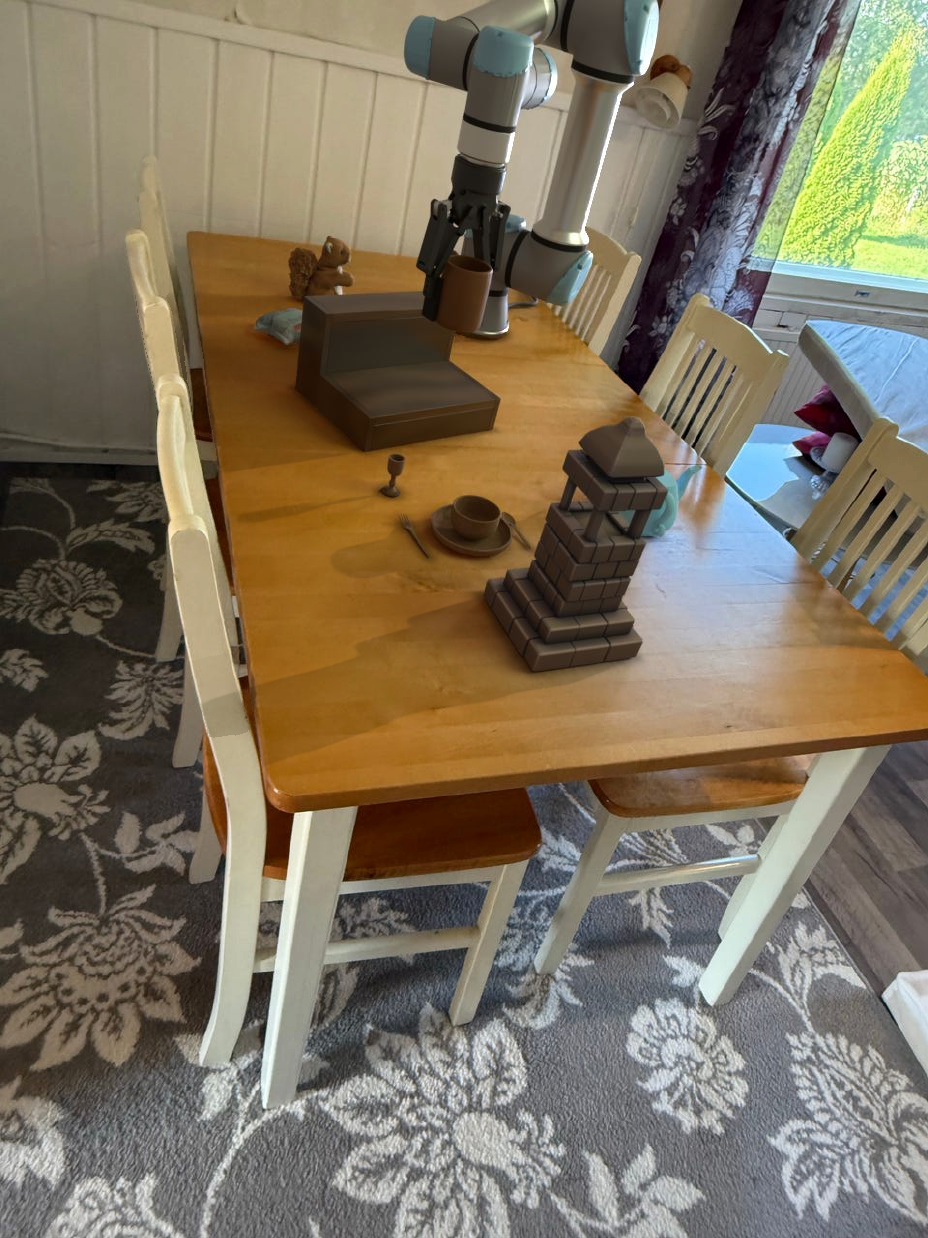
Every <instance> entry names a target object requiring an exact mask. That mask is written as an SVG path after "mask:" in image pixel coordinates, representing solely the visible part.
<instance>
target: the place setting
mask: <svg viewBox="0 0 928 1238" xmlns="http://www.w3.org/2000/svg"><path fill="white" fill-rule="evenodd" d="M405 465H406V457H405V456H404V455H403V454H401V453H396V452H395V453H390V454H389V455H388V460H387V468H386V470H387V472H388V474H389V475H390V479H389V481H388V485H385V486H383V487H382V488H381V493H382V495H384V496H387V497H390V498H397V497H399V496H400V495H401V490H400V489H399V488H397V487H396V485H397V477H399V476H401V475H402V474H403V472H404V468H405ZM397 516H398V518H399V520H400V523H401V525H402V527H403V528H404V529H405V530H408V531H409V532H410V533H411V535H412V536H413V538H414V539H415V540H416V542H417V544H418V546H419V547H420V548H421V550H422V551H423V553H424V554H425V555H426V556H427V558H431V555H430V553H429V551H428V550H427V548H426V547H425V545H424V544H423V542H422V541H421V540H420V538H419V536H418V535H417V534H416V532H415V531H414V529H413V525H412V523H411V521H410V520H409V517H408V515H407V513H402V514H399V513H398V514H397ZM516 524H517V523H516V519H515V517H514V516H513V515H512V514H510V513H509V512H506V511H501V509H500V507H499V506H498V505H497V504H496V503H495V502H493V501H492V500H490V499H488V498H485V497H484V496H479V495H474V494H465V495H460V496H458V497H456V498H455V499H454V501H453V503H449V504H445V505H442V506H439V507H438V508H437V509H435V511H434V512H433V513H432V514H431V519H430V526H431V530H432V533H433V535H434V536H435V538H436V539H437V540H438V541H439V543H441V544H443V545H444V546H445V547H447V548H448V549H450V550H451V551H454V552H456V553H459V554H462V555H466V556H469V557H477V558H478V557H479V558H486V557H492V556H493V557H494V556H496V555H499V554H501V553H503V552H505V551H506V550H507V549H508V548H509V546H510V545H511V544H512V541H513V537H514V533H513V529H514V530H515V531H516V533H517V535H518V536H519V538H520V539H521V540H522V542H523V543H524V545H525V546H526V547H527V548H528V549H529V550H531V549H532V546H531V544H530V542H529V541H528V539H526V538H525V536H524V535H523V533H522V532H521V531H520V529H519V528H518V527H517V525H516ZM512 528H513V529H512Z"/></svg>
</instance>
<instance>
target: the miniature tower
mask: <svg viewBox="0 0 928 1238" xmlns="http://www.w3.org/2000/svg"><path fill="white" fill-rule="evenodd" d="M647 434H648V433H647V431H646V425H645V423H644V421H643V420H642V419H641V418H640V417H638V416H632V415H631V416H626V417H624V418H623V419H622V420H621V421H619V422H618V423H614V424H605V425H601V426H598V427H596V428H593V429H591V430H589V431H587V432H586V433H585V434H584V435H583V436H582V437H581V438H580V440H578V442H577V443H578V445H579V446H580V449H569V450H568V451H567V452H566V455H565V459H564V461H563V464H562V467H561V469H562V471H563V473H565V475H566V476H567V480H566V483H565V485H564V489H563V492H562V495H561V498H560V500H559V502H551V503H550V504H549V507H548V510H547V514H546V516H545V519H544V520H545V524H544V525H543V529H542V532H541V534H540V537H539V540H538V542H537V545H536V547H535V551H534V553H533V557H534V559H531V562H530V565H529V566H528V567H516V568H507V570H506V572H505V575H504V576H503V577H502V576H501V577H493V578H488V579H487V581H486V584H485V587H484V591H483V594H482V597H483V598H484V600H485V601H486V603H487V604H488V606H489V607H490V608H491V610H492V612H493V614H494V616H495V617H496V618H497V620H498V622H499V623H500V624H501V626H502V628H503V629H504V631H505V633H506V634H507V636H508V637H509V639H510V640H511V642H512V643H513V645H514V647H515V648H516V650H517V651H518V653H519V655H520V656H521V657H523V659H524V660H525V661H526V663H527V665H528V666H529V667H530V669H531V671H532V672H541V671H542V672H543V671H549V670H556V669H563V668H569V667H577V666H583V665H590V664H597V663H598V664H599V663H603V662H611V661H618V660H626V659H632V658H637V656H638V653H639V651H640V649H641V647H642V645H643V643H644V639H643V638H642V637H641V635H640V634H639V633H638V632H637V631H636V629H635V628H634V627H635V626H634V624H635V622H636V618H635V617H634V616H633V615H632V613H630V611H629V610H628V606H627V605H626V604H625V602H623V598H624V596H625V595H626V593H627V591H628V588H629V586H630V583H631V581H632V579H631V577H633V576H634V574H635V573H636V569H637V567H638V565H639V563H640V559H641V557H642V554H643V552H644V550H645V547H646V545H647V541H646V540H645V538H643V537H642V536H641V535H642V532H643V530H644V528H645V525H646V523H647V520H648V518H649V516H650V513H651V511H652V510H658V509H661V508H662V505H663V503H664V501H665V498H666V496H667V493H668V489H667V488H666V487H665V486H664V485H663V484H662V483H661V482H660V481H659V480H658V479H657V478H656V477H660V476H664V474H665V469H666V468H665V467H666V463H665V460H664V457H663V456H662V453H661V451H660V449H659V448H658V446H657V445H656V443H655V442H654V441H653V440H652V439H651V438H650V437H649V435H647ZM577 489H579V490H580V492H581V493H582V495H584V496H585V497H586V499H587V500H573V499H574V497H575V493H576V491H577ZM627 510H636V511H635V513H634V516H633V518H632V521H631V523H630V524H629V522H628V521H627V520H626V519H625V518H624V517H623V516H622V515H621V514H619V511H627Z"/></svg>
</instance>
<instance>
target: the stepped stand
mask: <svg viewBox="0 0 928 1238" xmlns="http://www.w3.org/2000/svg"><path fill="white" fill-rule="evenodd" d="M424 298H425V296H424V295H423V290H415V291H414V290H413V291H411V290H410V291H392V292H373V293H372V292H369V293H368V292H367V293H366V292H365V293H347V294H346V293H344V295H321V296H304V302H302V311H303V312H302V322H301V332H300V342H298V355H297V364H296V374H295V381H294V382H295V384H294V389H295V390H296V391H297V392H298V393H299V394H301V396H303V397H304V398H305V399H306V400H307V401H308V402H309V403H310V404H311V405H312V406H314V407H315V408H316V410H317V411H319V412H320V413H321V414H322V415H323V416H325V417H326V418H327V419H328V420H329V421H330V422H331V424H333V425H334V426H335V427H336V428H337V429H339V431H341V432H342V433H343V434H344V435H345V436H346V437H347V438H349V440H351V442H353V443H354V444H355V445H356V446H357V447H358V448H359V449H360V450H361V451H362V452H364V453H367V452H371V451H377V450H382V449H389V448H394V447H399V446H407V445H411V444H417V443H422V442H429V441H434V440H439V439H445V438H453V437H456V436H462V435H470V434H475V433H481V432H487V431H492V430H494V427H495V423H496V418H497V415H498V412H499V407H500V403H501V400H502V398H501V397H499V396H498V395H497V394H495V393H494V392H493V391H491V390H490V389H488V388H487V387H486V386H485V385H483V384H482V383H481V382H479V381H478V380H476V378H474V377H472V375H470V374H469V373H467V372H465V370H464V369H462V368H460V367H459V366H458V365H457V364H455V363H454V362H452V360H450V358H451V353H452V349H453V344H454V340H455V335H456V332H455V331H452V330H449V329H446V328H444V327H442V326H441V325H439V324H438V323H437V322H436V321H434V322H431V321H430V320H429V319H427V318H426V317H424V316H423V315H421V314H422V309H423V304H424Z"/></svg>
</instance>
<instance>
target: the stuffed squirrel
mask: <svg viewBox="0 0 928 1238" xmlns="http://www.w3.org/2000/svg"><path fill="white" fill-rule="evenodd" d="M289 254H290V257H289V258H288V260H287V261H288V263H287V264H288V267H289V272H290V273H288V275H289V279H290V281H289V285H288V290H289V292H290V294H291V295H292V297H294V299H296V301H297V302H301V303H303V302H304V296H321V295H344V294H345V292H343V287H346V288H350V287H352V286H353V285H354V284H355V277H354V275H353V274H352V273H351V272H350V271H347V270H345V269H343V267H344V266H347V265H348V267H349V268H351V260H352V254H353V252H352V249H351V248H350V247H349V245H348V244H346V243H345V241H343V240H341V239H339V238H337V237H333V236H332V235H327V236H326V239H325V241H324V243H323V245H322V248H321V255H320V257H319V259H318V258H317V255H316V251H315V250H312V249H310V248H309V247H308V248H306V247H304V248H303V247H301V246H300V247H298V246H296V247H295V248H294V250H292V251H290V253H289Z"/></svg>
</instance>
